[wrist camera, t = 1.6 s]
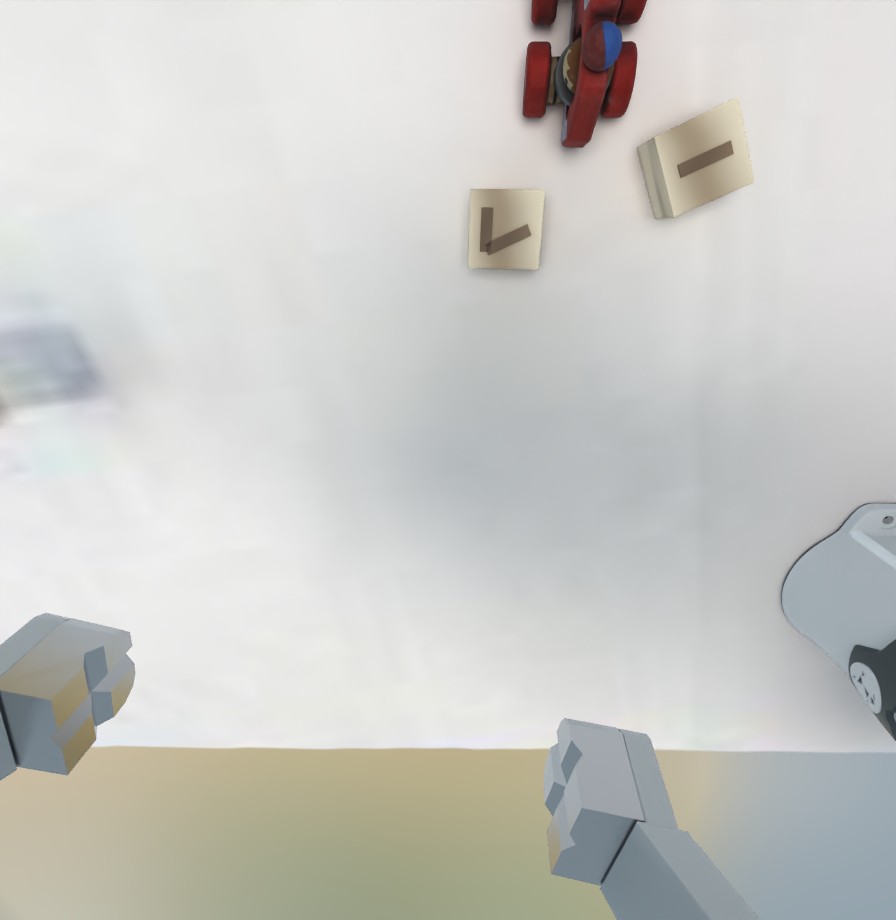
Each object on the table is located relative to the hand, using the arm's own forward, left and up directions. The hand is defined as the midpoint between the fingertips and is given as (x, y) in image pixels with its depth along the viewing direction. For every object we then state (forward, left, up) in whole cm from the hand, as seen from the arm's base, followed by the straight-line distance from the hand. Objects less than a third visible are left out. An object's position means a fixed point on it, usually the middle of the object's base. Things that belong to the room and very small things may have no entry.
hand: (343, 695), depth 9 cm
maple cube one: (-17, -8, -37) cm, 42 cm away
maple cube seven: (-4, -7, -37) cm, 38 cm away
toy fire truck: (-11, -17, -37) cm, 43 cm away
